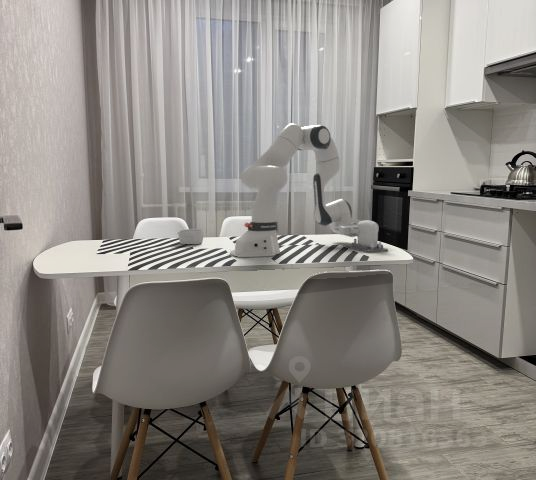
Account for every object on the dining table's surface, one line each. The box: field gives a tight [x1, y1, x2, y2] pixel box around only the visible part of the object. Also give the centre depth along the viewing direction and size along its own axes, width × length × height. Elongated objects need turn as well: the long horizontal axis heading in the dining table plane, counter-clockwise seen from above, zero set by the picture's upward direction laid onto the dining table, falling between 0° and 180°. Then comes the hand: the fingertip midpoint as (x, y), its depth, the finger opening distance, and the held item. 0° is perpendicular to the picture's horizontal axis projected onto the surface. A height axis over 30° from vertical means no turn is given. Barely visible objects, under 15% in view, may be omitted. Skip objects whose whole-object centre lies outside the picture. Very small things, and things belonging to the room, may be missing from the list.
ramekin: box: [177, 228, 205, 245], centre depth 241 cm, size 13×13×7 cm
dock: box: [347, 238, 389, 254], centre depth 219 cm, size 10×18×4 cm, turn 22°
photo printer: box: [357, 219, 379, 248], centre depth 218 cm, size 10×4×12 cm, turn 36°
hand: (367, 231), depth 218 cm, fingers open, 8 cm apart
